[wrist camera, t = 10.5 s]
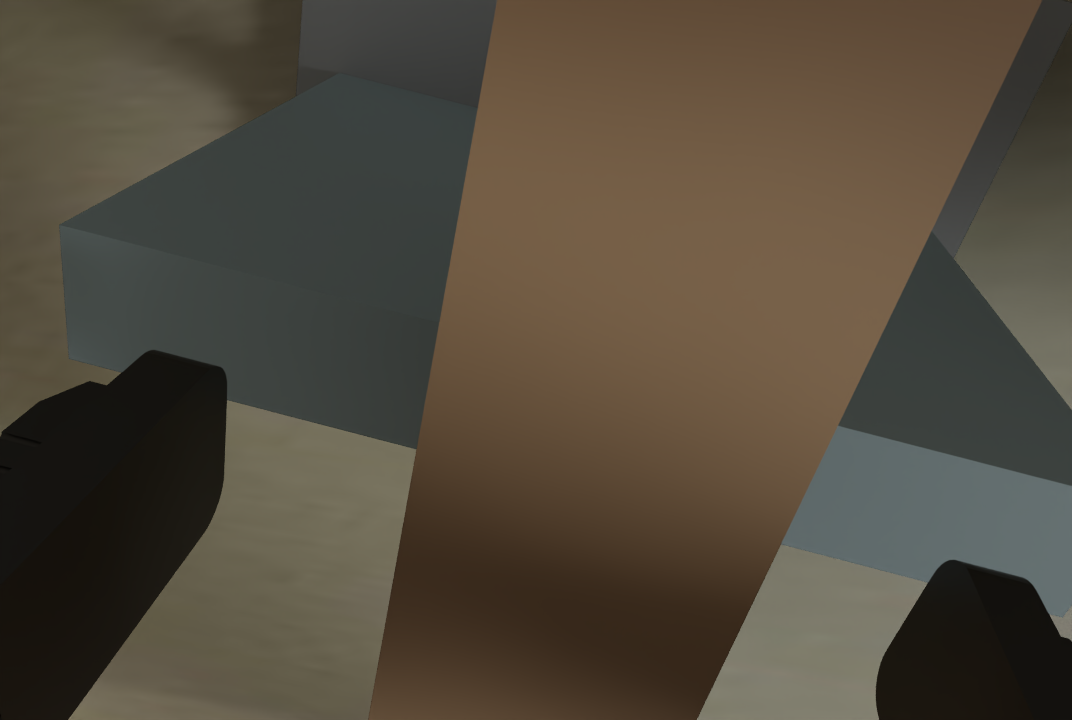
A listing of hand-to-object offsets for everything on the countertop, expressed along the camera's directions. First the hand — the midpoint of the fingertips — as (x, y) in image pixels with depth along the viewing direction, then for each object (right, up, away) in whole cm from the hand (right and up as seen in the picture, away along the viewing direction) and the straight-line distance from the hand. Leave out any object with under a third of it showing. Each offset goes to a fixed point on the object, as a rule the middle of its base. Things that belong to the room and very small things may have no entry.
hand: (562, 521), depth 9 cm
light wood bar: (0, +1, +2) cm, 2 cm away
